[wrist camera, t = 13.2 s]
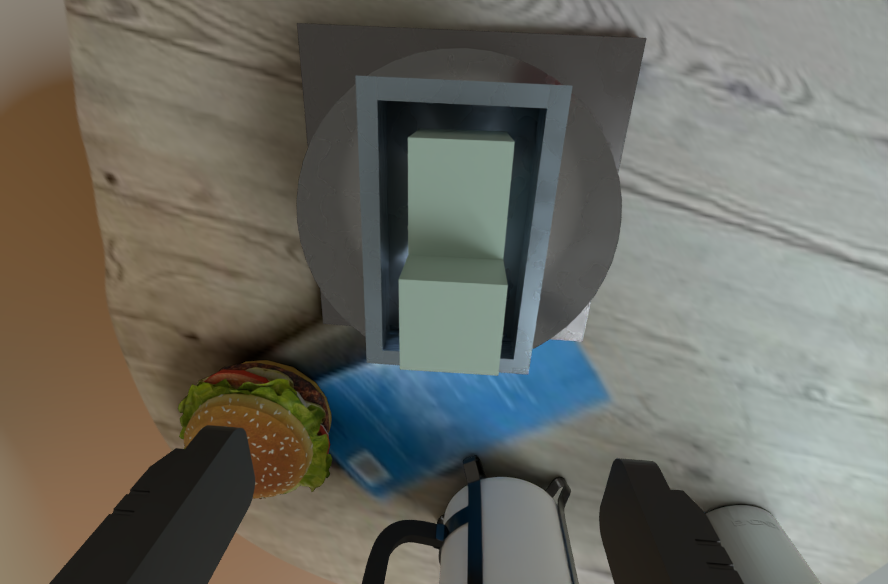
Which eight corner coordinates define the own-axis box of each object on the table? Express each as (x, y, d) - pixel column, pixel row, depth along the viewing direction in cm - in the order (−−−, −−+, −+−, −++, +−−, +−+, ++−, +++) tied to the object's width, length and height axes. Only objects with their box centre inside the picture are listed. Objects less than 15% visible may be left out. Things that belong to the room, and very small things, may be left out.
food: (212, 451, 46) (164, 519, 39) (200, 339, 40) (140, 395, 33) (340, 471, 46) (316, 543, 39) (347, 363, 40) (320, 424, 33)
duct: (579, 335, 37) (616, 419, 28) (326, 318, 38) (277, 394, 28) (640, 39, 28) (728, 13, 18) (302, 25, 28) (217, -8, 19)
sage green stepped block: (506, 131, 23) (521, 150, 16) (491, 299, 27) (498, 375, 20) (420, 128, 23) (396, 145, 16) (419, 295, 27) (400, 369, 20)
